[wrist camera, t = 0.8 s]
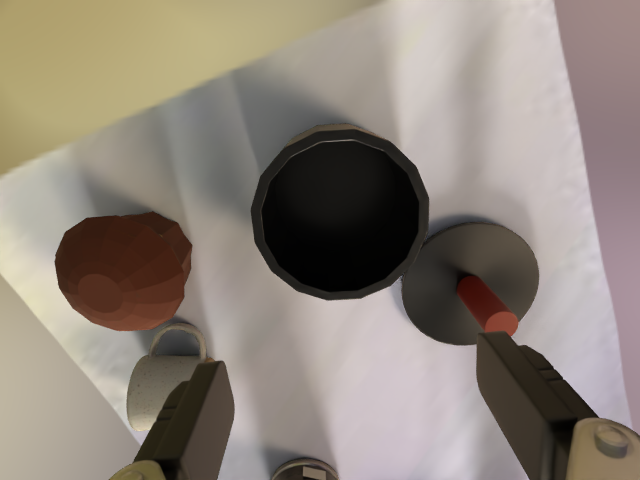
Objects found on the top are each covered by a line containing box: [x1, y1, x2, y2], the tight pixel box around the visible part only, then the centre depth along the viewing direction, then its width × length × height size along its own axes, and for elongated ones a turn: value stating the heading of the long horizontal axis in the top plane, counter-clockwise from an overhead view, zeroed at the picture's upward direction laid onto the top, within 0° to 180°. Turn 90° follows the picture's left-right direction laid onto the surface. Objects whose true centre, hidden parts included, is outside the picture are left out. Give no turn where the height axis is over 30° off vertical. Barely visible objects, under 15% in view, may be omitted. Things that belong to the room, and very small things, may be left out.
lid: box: [402, 222, 539, 345], centre depth 38 cm, size 15×15×9 cm
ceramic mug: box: [127, 323, 214, 431], centre depth 42 cm, size 11×8×8 cm
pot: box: [251, 123, 429, 301], centre depth 34 cm, size 14×14×10 cm
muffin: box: [55, 211, 192, 331], centre depth 36 cm, size 12×11×10 cm
